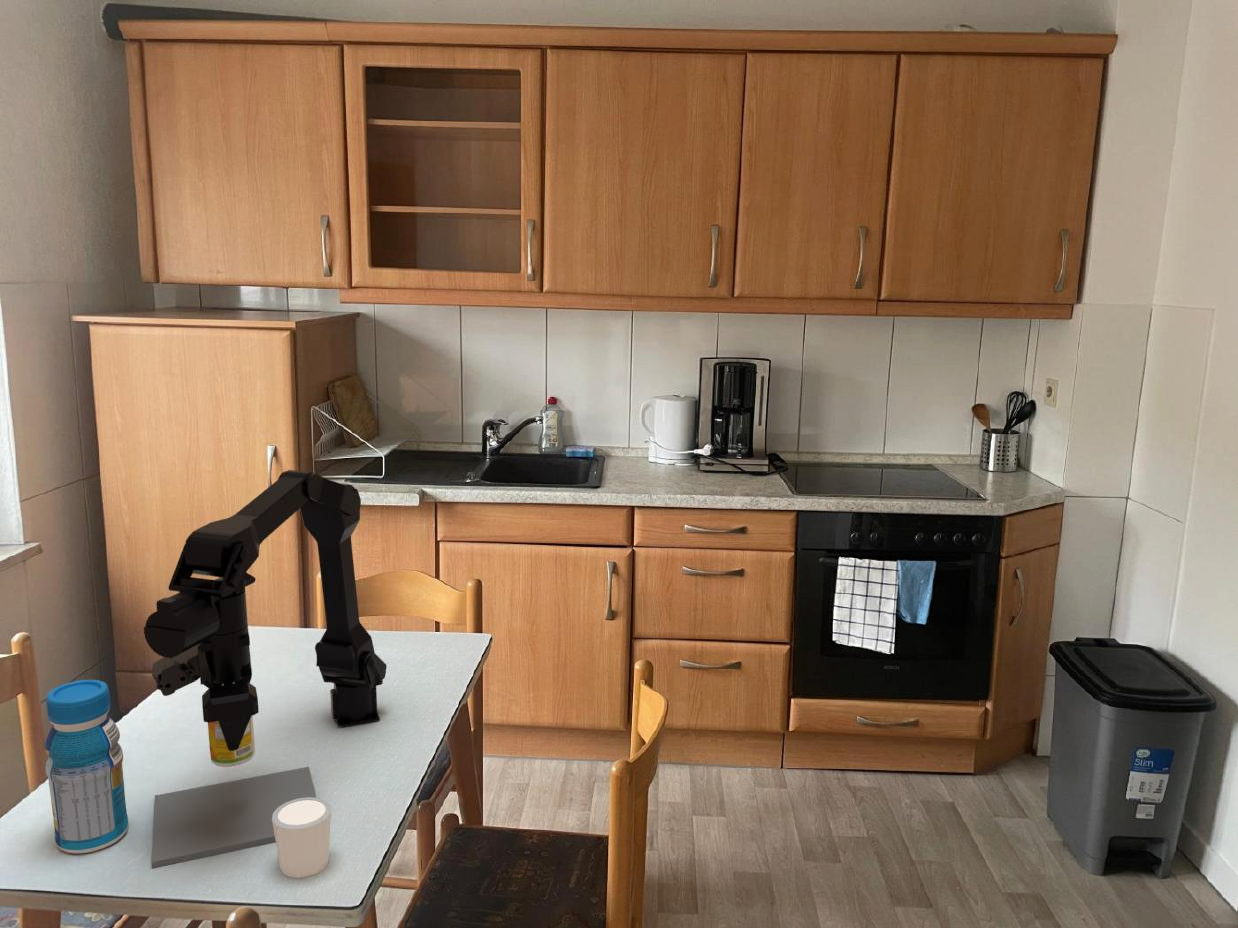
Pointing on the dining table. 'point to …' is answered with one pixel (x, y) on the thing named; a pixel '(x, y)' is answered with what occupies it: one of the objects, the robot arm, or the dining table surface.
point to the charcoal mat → (222, 815)
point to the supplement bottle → (220, 749)
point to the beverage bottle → (84, 768)
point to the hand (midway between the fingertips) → (232, 739)
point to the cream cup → (302, 836)
